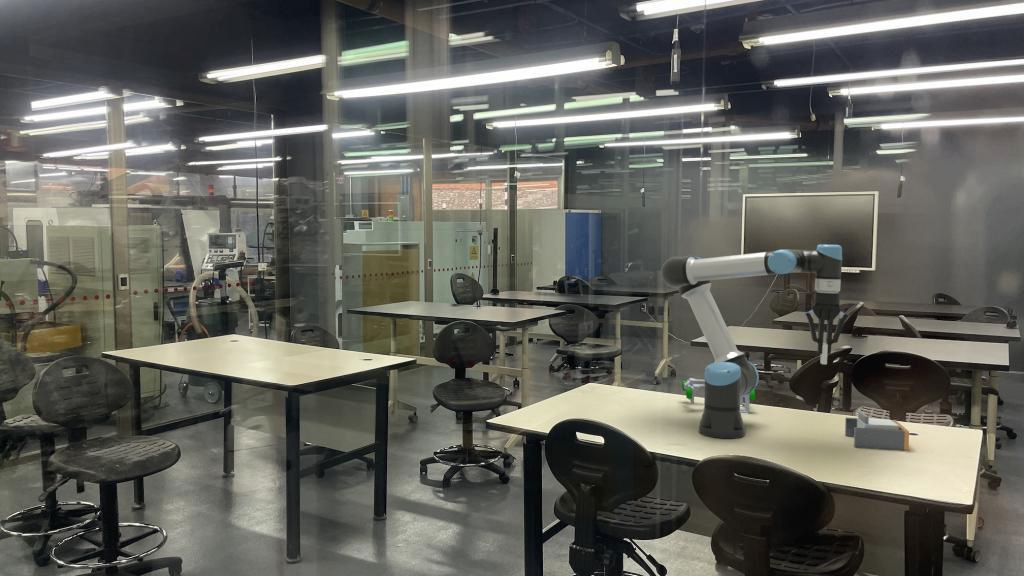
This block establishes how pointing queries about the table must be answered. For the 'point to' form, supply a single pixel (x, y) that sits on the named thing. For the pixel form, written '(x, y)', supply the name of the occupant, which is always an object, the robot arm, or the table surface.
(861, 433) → the bay
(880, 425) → the white chamfered box
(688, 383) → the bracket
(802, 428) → the table surface
